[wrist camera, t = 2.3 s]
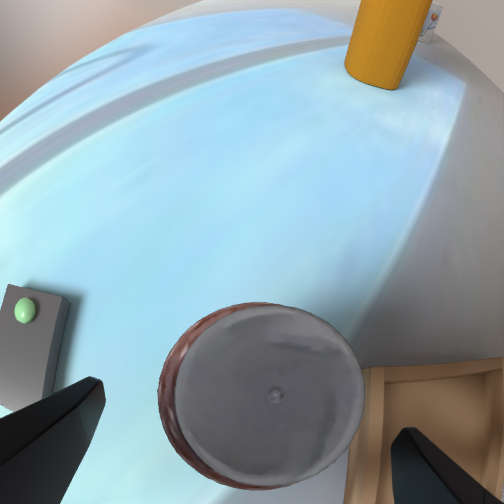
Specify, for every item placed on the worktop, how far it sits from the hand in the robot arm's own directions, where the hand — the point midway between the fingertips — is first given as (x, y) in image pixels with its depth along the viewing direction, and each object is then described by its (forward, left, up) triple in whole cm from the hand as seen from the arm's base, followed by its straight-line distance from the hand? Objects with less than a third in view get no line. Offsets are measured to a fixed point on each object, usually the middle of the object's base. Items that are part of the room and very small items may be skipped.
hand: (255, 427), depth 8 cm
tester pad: (+1, +14, -9) cm, 16 cm away
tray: (-3, -12, -9) cm, 15 cm away
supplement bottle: (+1, 0, -9) cm, 9 cm away
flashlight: (+38, -13, -9) cm, 41 cm away
